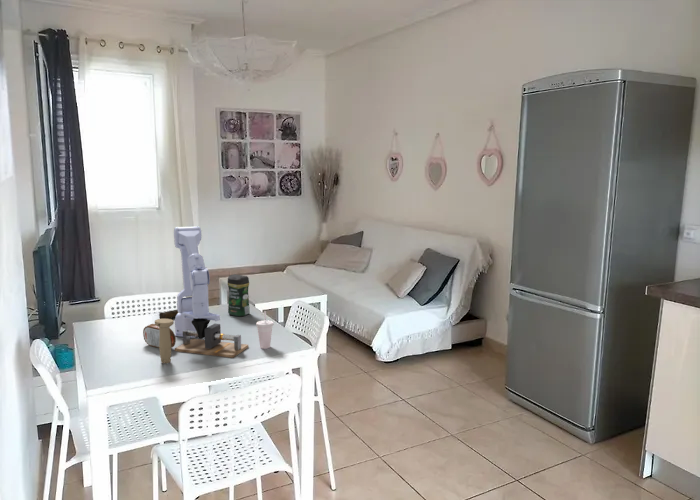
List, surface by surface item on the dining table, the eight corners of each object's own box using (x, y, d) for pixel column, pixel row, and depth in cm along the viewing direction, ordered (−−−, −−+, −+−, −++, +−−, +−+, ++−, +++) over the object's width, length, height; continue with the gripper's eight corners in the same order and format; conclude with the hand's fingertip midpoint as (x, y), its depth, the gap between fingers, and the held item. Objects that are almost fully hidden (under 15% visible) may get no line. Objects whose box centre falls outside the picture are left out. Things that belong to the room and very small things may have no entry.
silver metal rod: (183, 344, 202) (182, 330, 202) (186, 342, 205) (186, 328, 204) (238, 350, 196) (237, 336, 195) (241, 348, 198) (240, 334, 198)
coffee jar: (225, 314, 247) (224, 275, 244) (237, 310, 254) (236, 272, 251) (241, 317, 242) (240, 277, 239) (252, 313, 249) (251, 274, 246)
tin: (176, 349, 200) (175, 327, 199) (170, 352, 197) (169, 329, 196) (148, 342, 207) (147, 321, 206) (142, 345, 205) (141, 323, 203)
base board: (174, 351, 198) (174, 348, 198) (192, 341, 210) (192, 338, 209) (233, 357, 192) (232, 354, 191) (248, 347, 203) (248, 344, 203)
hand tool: (163, 322, 235) (162, 311, 235) (158, 320, 238) (158, 310, 237) (201, 314, 249) (201, 304, 248) (197, 312, 252) (196, 302, 251)
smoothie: (259, 350, 199) (259, 314, 197) (254, 345, 205) (253, 310, 202) (276, 348, 202) (275, 312, 200) (270, 343, 208) (269, 308, 205)
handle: (164, 358, 190) (162, 317, 188) (178, 361, 187) (176, 320, 185) (153, 363, 186) (151, 321, 184) (167, 366, 183) (166, 323, 181)
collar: (205, 347, 197) (204, 328, 196) (215, 341, 204) (214, 323, 203) (210, 348, 196) (210, 329, 195) (220, 342, 203) (220, 324, 202)
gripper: (176, 303, 194) (178, 339, 196) (212, 306, 190) (213, 343, 192) (187, 298, 201) (189, 333, 203) (222, 301, 197) (223, 337, 199)
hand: (201, 338), depth 198 cm, fingers closed
